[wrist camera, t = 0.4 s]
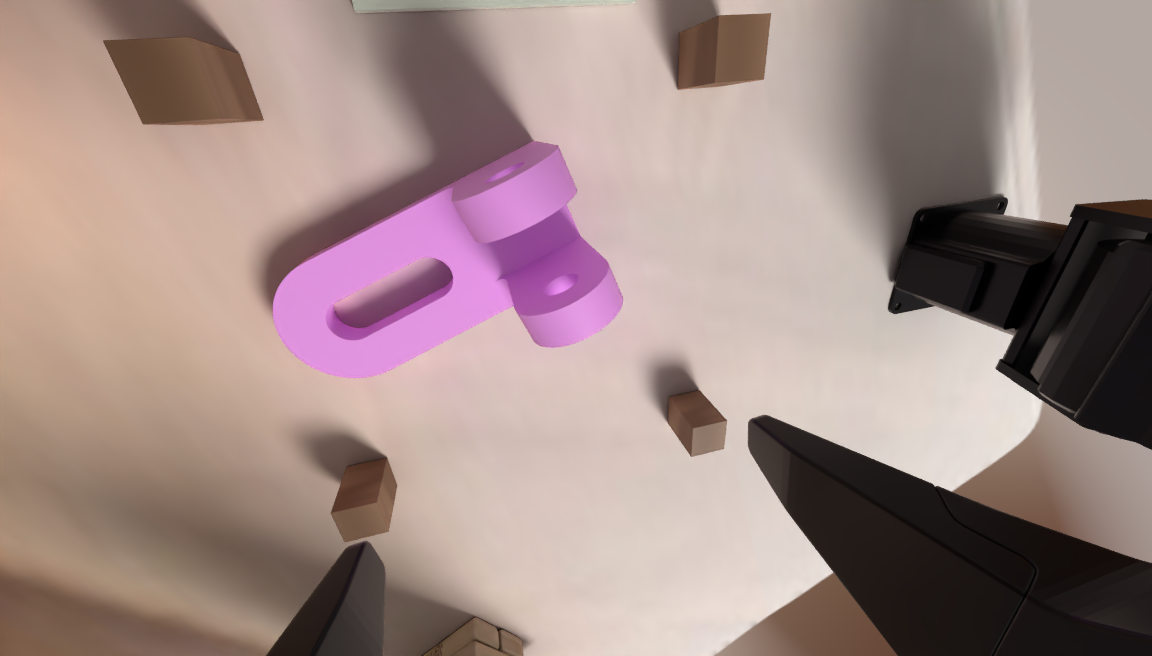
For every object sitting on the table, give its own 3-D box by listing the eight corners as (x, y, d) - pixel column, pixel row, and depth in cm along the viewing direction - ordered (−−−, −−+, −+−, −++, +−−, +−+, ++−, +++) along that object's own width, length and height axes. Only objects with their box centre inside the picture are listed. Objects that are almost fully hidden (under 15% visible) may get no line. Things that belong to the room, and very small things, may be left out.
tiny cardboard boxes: (724, 30, 17) (770, 13, 15) (697, 416, 26) (724, 448, 24) (171, 57, 14) (102, 40, 11) (358, 494, 23) (344, 542, 20)
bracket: (532, 140, 18) (570, 147, 11) (584, 255, 20) (638, 311, 14) (253, 284, 17) (140, 371, 11) (343, 381, 20) (292, 493, 14)
